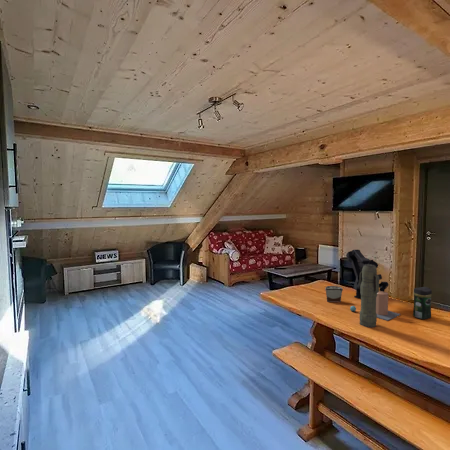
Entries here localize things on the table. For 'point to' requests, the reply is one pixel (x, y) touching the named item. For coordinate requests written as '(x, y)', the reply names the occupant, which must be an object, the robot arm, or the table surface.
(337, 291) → the food container
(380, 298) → the brown piece
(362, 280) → the thermos
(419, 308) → the coffee jar
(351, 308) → the ball
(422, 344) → the table surface
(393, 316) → the slate mat
